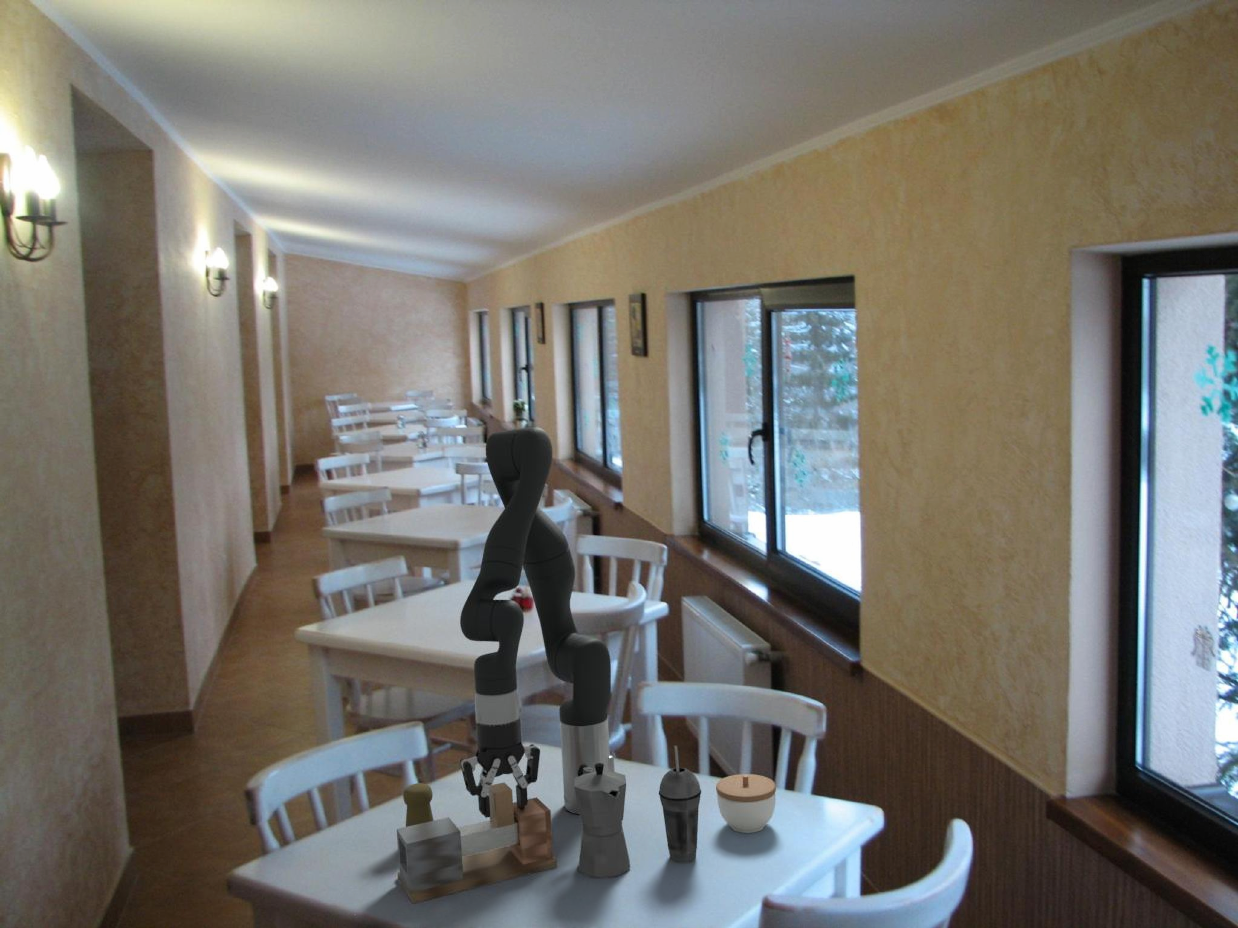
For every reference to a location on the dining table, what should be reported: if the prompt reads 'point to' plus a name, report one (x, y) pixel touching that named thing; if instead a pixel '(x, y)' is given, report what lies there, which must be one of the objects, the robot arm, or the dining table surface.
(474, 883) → the block assembly on base
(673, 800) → the beverage cup
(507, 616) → the robot arm
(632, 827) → the dining table surface
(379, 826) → the dining table surface
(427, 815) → the cork
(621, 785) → the coffeepot
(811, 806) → the dining table surface
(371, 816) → the dining table surface
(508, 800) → the two-tone wooden block
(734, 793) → the lidded jar
